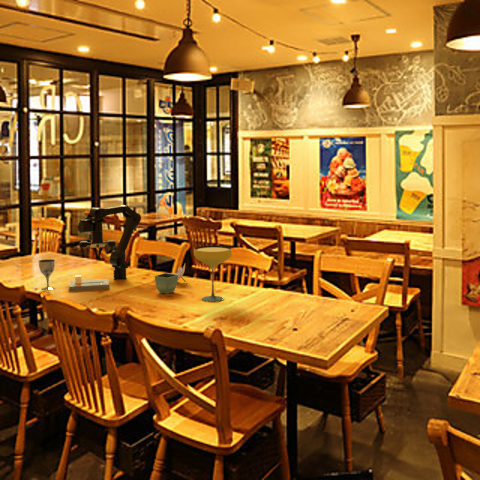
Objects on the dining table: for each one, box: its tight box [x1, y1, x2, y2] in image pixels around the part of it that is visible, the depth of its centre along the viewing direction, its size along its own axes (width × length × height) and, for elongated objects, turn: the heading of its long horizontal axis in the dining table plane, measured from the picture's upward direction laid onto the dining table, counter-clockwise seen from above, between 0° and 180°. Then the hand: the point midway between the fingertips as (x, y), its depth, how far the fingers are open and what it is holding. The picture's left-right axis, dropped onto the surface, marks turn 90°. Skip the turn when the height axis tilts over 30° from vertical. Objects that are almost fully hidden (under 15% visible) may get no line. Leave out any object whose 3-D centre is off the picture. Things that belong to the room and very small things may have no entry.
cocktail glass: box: [193, 245, 232, 303], centre depth 271 cm, size 18×18×25 cm
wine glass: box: [38, 258, 56, 291], centre depth 292 cm, size 8×8×15 cm
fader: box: [74, 274, 83, 284], centre depth 294 cm, size 3×5×5 cm, turn 15°
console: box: [68, 278, 110, 293], centre depth 296 cm, size 20×14×3 cm
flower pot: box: [154, 272, 179, 295], centre depth 286 cm, size 9×9×9 cm
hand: (98, 259), depth 305 cm, fingers closed
